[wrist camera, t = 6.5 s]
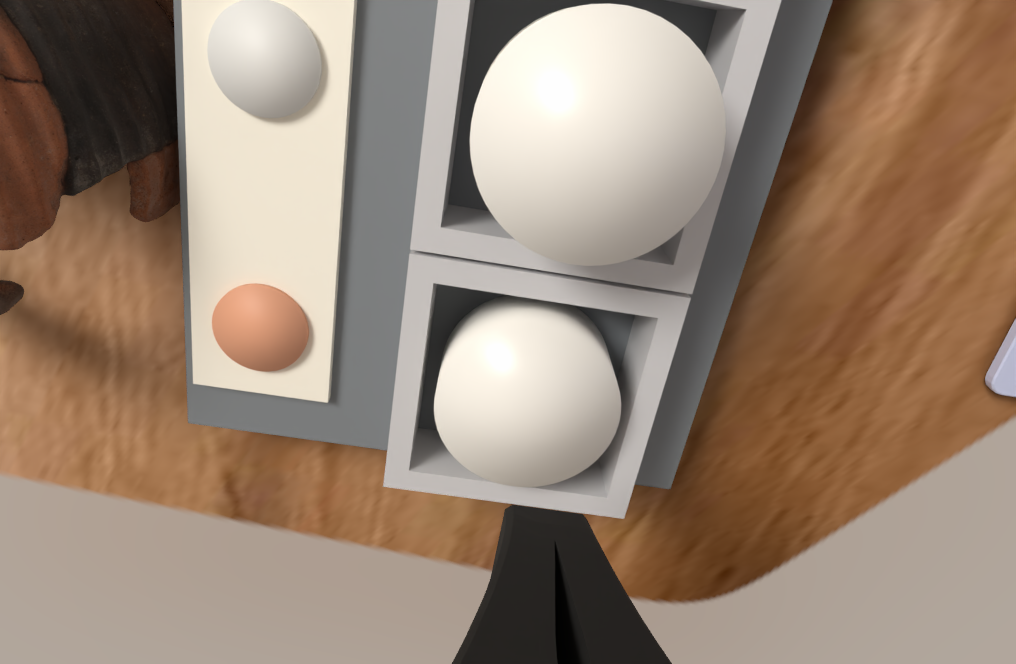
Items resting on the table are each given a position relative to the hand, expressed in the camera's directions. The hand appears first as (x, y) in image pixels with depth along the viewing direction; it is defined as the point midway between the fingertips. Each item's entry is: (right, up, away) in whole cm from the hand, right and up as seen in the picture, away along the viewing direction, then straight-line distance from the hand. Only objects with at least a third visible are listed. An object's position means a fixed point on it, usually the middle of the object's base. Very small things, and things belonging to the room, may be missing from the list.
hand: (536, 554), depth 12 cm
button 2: (0, +3, +6) cm, 7 cm away
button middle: (+1, +8, +2) cm, 8 cm away
